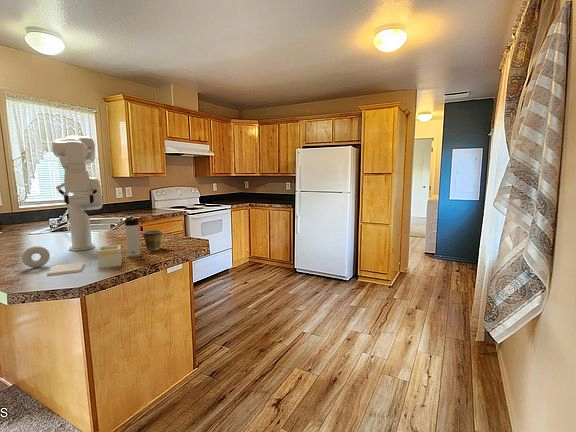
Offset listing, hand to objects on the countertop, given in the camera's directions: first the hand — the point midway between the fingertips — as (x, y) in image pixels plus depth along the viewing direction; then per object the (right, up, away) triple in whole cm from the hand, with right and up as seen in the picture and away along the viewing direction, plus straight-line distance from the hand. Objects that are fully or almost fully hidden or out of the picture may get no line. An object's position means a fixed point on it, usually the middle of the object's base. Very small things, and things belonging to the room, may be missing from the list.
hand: (79, 203), depth 149 cm
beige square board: (+2, -30, -11) cm, 32 cm away
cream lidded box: (+17, -29, -3) cm, 33 cm away
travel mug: (+21, -27, +12) cm, 36 cm away
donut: (-14, -30, -7) cm, 34 cm away
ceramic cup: (+23, -25, +28) cm, 44 cm away
